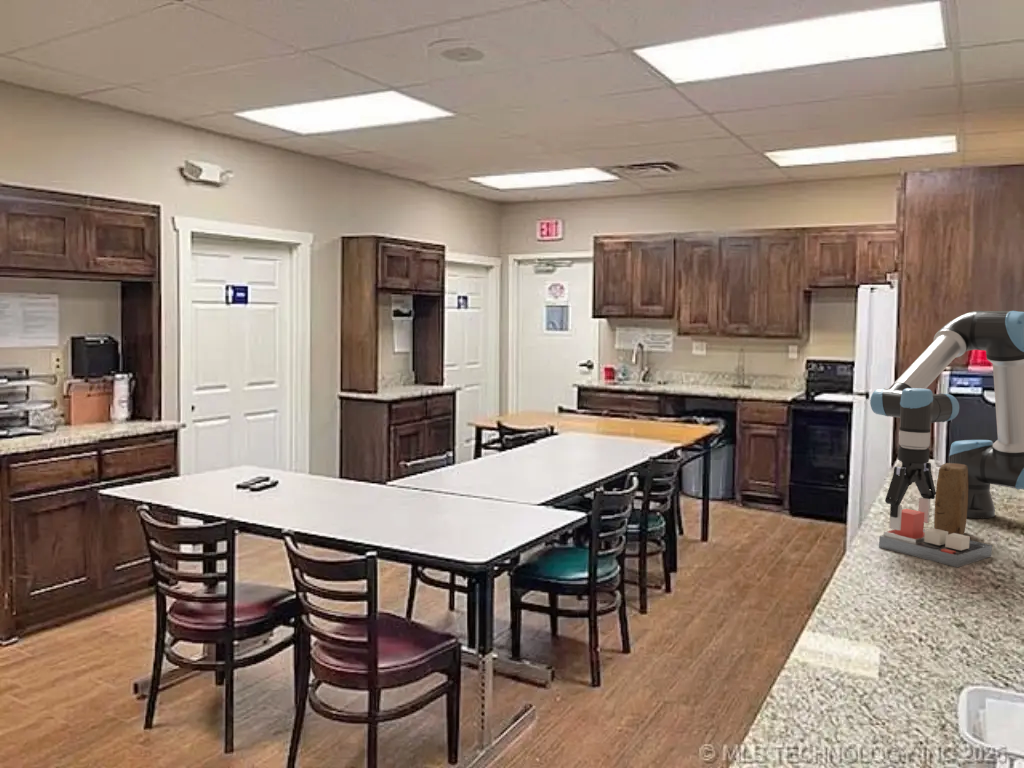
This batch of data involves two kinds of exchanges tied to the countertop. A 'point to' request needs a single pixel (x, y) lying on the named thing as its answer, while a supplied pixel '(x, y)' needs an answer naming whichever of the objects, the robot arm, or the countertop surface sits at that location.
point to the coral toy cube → (911, 524)
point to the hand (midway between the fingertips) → (909, 525)
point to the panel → (934, 549)
